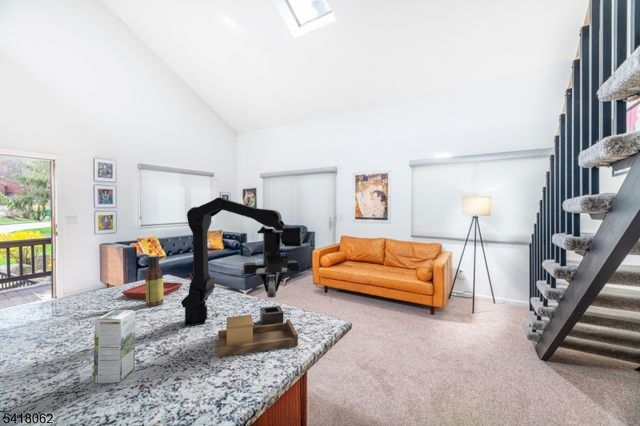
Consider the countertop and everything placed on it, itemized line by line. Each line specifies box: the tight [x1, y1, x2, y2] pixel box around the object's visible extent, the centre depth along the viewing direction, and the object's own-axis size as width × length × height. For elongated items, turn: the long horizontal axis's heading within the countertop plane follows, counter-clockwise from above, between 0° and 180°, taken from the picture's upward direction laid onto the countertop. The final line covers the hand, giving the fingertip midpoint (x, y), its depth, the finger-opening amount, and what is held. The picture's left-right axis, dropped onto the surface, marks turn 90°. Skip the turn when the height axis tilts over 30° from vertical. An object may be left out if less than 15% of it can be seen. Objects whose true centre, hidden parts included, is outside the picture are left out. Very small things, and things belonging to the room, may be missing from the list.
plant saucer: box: [121, 281, 184, 299], centre depth 129 cm, size 18×18×3 cm
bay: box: [216, 318, 299, 358], centre depth 82 cm, size 22×12×3 cm, turn 108°
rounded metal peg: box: [266, 274, 277, 299], centre depth 95 cm, size 3×3×7 cm
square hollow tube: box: [259, 305, 284, 326], centre depth 96 cm, size 7×7×4 cm
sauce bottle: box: [144, 254, 165, 307], centre depth 114 cm, size 7×6×20 cm
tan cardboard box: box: [225, 314, 254, 346], centre depth 81 cm, size 7×7×6 cm
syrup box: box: [92, 309, 137, 384], centre depth 65 cm, size 6×6×14 cm
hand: (271, 291), depth 96 cm, fingers closed on rounded metal peg, 3 cm apart
